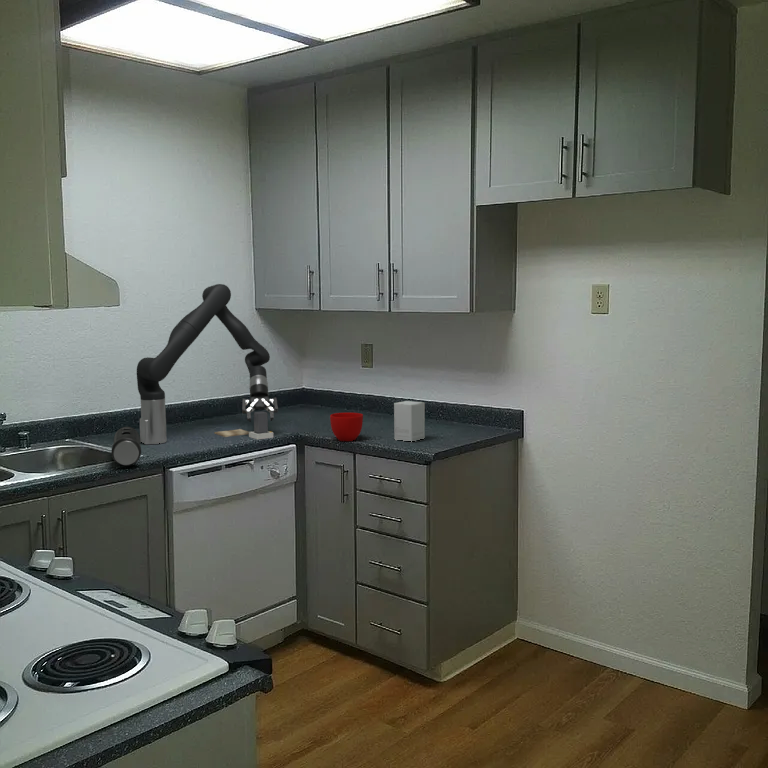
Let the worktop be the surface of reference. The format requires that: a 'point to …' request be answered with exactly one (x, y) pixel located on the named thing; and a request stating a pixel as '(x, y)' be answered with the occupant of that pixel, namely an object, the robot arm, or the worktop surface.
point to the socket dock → (261, 435)
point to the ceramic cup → (346, 425)
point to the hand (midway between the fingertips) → (260, 420)
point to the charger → (260, 422)
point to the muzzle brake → (126, 446)
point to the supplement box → (409, 421)
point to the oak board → (232, 433)
